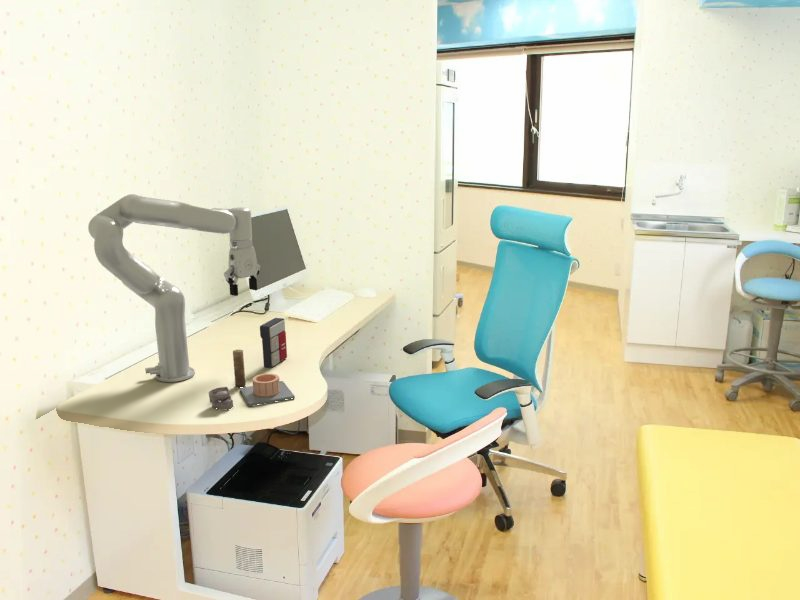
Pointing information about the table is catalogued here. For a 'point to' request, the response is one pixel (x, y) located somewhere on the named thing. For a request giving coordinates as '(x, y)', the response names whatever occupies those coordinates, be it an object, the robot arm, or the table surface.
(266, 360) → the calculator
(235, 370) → the wooden capsule dowel
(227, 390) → the dental mold
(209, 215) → the robot arm
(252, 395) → the board
